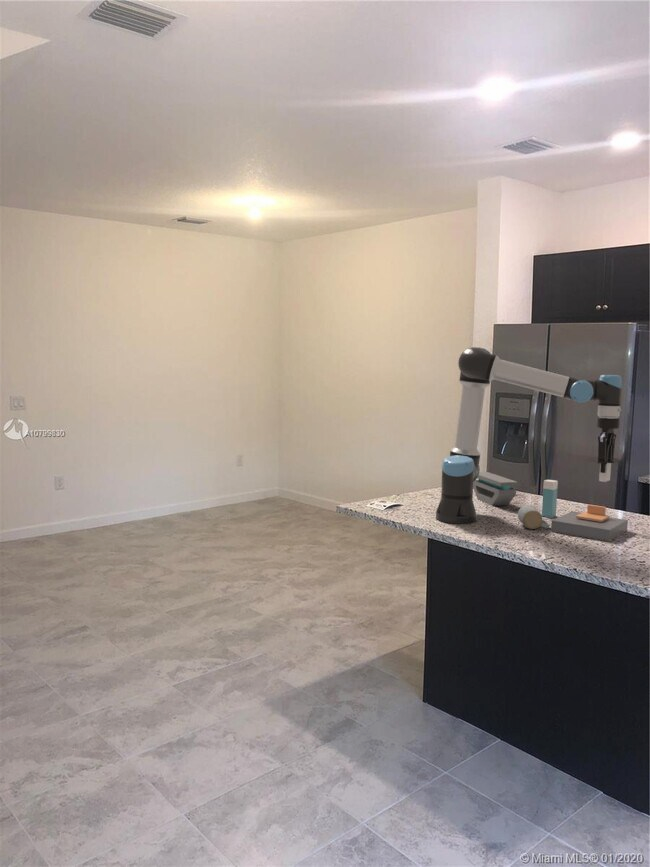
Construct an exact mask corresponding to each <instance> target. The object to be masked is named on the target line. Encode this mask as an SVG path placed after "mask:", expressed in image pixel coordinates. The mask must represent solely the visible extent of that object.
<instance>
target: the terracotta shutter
mask: <svg viewBox="0 0 650 867" xmlns="http://www.w3.org/2000/svg"><path fill="white" fill-rule="evenodd" d="M606 510H607V507H606V506H603V505H602V506H601V505H596V504H587V509H586V511H584V512H580V513H581V514H579V515H577V516H576V518H579V519H585V520H592V521H598V522H603V521H605V520H607V519H608V518H610V517H611V515H609V514H608V515H607V513H606Z"/></svg>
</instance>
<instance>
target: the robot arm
mask: <svg viewBox="0 0 650 867" xmlns="http://www.w3.org/2000/svg"><path fill="white" fill-rule="evenodd" d="M457 364H458V365H457V366H458V368H459V370H460V372H459V373H460V374H459V380H458V381H459V383H460V384H461V385H462V389H461V396H460V405H459V413H458V419H457V425H456V426H457V428H456V433H455V442H454V444H455V445H454V446H453V447H452V448H451V449H450V451H449V456H447V457H445V458H444V459H443V460H442V464H441V490H440V491H441V492H440V493H441V494H440V496H441V497H440V500H439V504H438V506H437V508H436V510H435V519H436V520H438V521H440V522H444V523H449V524H471V523H475V522H477V519H478V518H477V512H476V511H477V510H476V507H475V505H474V500H473V499H474V498H473V495H474V494H473V493H474V489H473V482H474V481H475V480H478V478H477V477H478V475H479V472H481V471H480V460H481V452H480V451H479V450H478V446H479V445H478V444H479V436H480V431H481V423H482V422H481V420H482V414H483V407H484V400H485V392H486V391H485V390H486V388H488V387H489V386H491V385H490V383H491V381H494V380H495V381H499V382H502V383H503V382H504V383H507V384H511V385H515V386H518V387H522V388H526V389H530V390H533V391H538V392H541V393H545V394H548V395H549V394H550V395H552V396H557V397H561V398H564V399H565V400H570V401H575V402H576V403H579V404H583V403H584V404H585V403H586V402H588V401H598V403H597V405H598V406H597V419H596V427H597V428H598V429H601V432H600V434H599V435H598V437H597V441H598V443H597V444H598V447H597V448H598V449H597V452H598V453H597V455H598V456H597V464H599V472H598V473H599V476H598V481H599V482H603V483H607V482H610V481H611V472H612V470H611V469H612V464H614V463H615V461H614V456H615V446H616V440H617V434H615V430H617V429H619V428H620V418H619V417H620V415H621V414H620V413H621V412H622V408H621V402H622V401H621V400H622V391H623V390H622V389H623V388H622V384H623V382H622V381H623V378H622V376H621V375H619V374H616V375H615V374H601V375H600V377H599V379H595V380H594V379H578V378H575V377H571V376H567V375H564V374H559V373H556V372H551V371H547V370H543V369H540V368H534V367H532V366H527V365H524V364H521V363H516V362H512V361H508V360H504V359H500V357H499V356H498V355H496V354H492V353H491V352H490V351H489V350H488V349H486V348H482V347H478V346H477V347H476V346H474V347H468V348H466V349H465V350H463V352H461V354H460V355H459V357H458V363H457Z"/></svg>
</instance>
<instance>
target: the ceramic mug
mask: <svg viewBox="0 0 650 867" xmlns="http://www.w3.org/2000/svg"><path fill="white" fill-rule="evenodd" d="M517 518H518V521H519V522H520V524H522V525H523V526H524V527H525V528H526V529H529V530H536V529H538V528H540V527H542V528H544V529H549V528H550V526H551V525H550V524H551V523H548V522H547V521H545V520H544V519H543V516H542V512H540V511H539V509H538V508H537V507H536V506H535V505H533V504H524V505H522V506H521V507H520V508H519V510H518V512H517Z"/></svg>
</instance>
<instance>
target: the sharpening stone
mask: <svg viewBox="0 0 650 867" xmlns="http://www.w3.org/2000/svg"><path fill="white" fill-rule="evenodd" d="M515 486H516V487H518V486H519V482H518V481H516V480H513V479H510V478H507V477H505V476H501V475H498V474H495V473H492V472H488V471H482V472H481V471H479V475H478V477H477V479H476V480H475V481H474V482H473V492H474V494H475V497H476V498H477V500H478V501H479V500H480V502H481V501H482V503H484V502H485V504H486V503H487V505H489V506H491V505H493V506H508V505H509V504H510V503H511V502H512V500H513V499H514V498H515V497H516V494H517V489H515V488H513V487H515Z"/></svg>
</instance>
